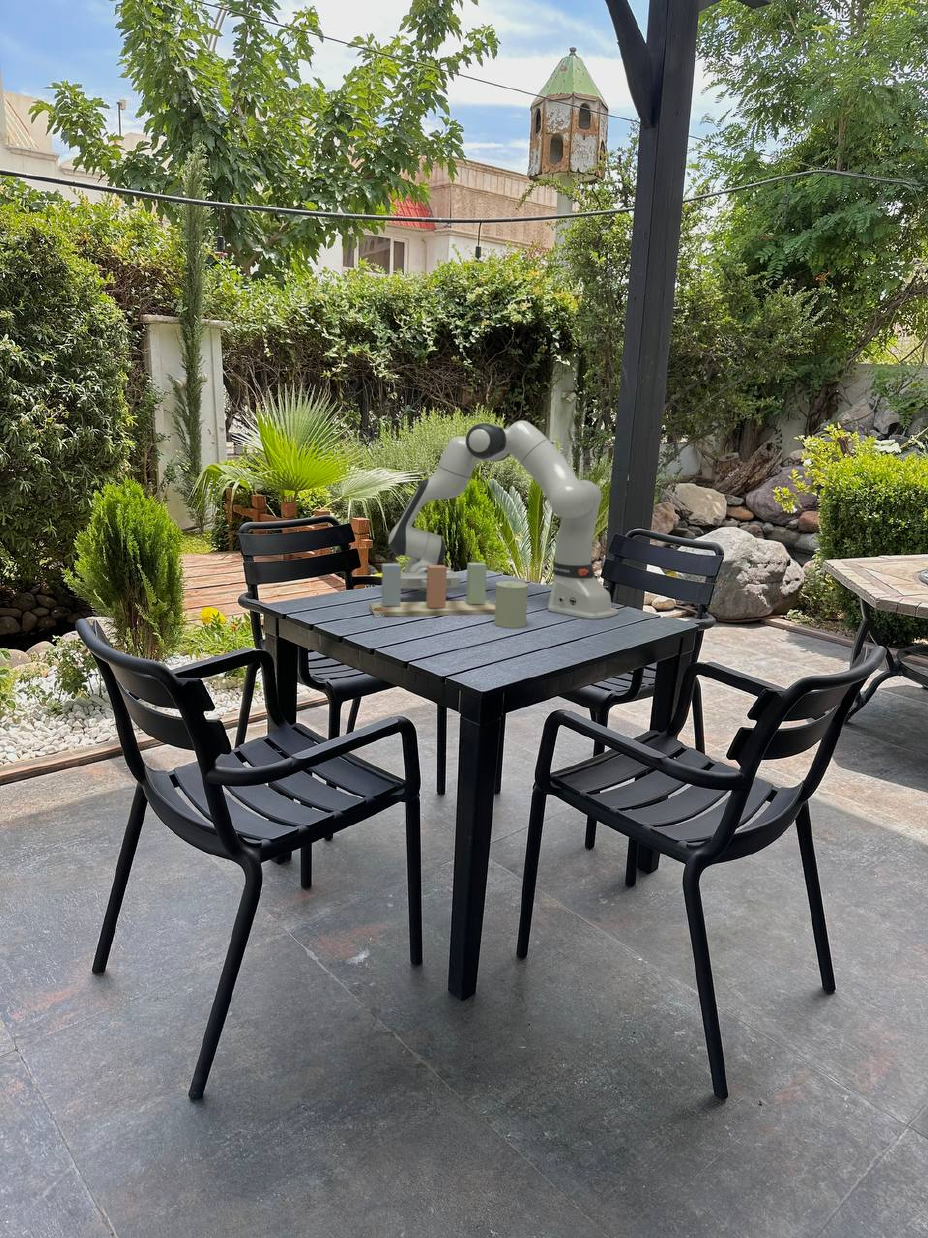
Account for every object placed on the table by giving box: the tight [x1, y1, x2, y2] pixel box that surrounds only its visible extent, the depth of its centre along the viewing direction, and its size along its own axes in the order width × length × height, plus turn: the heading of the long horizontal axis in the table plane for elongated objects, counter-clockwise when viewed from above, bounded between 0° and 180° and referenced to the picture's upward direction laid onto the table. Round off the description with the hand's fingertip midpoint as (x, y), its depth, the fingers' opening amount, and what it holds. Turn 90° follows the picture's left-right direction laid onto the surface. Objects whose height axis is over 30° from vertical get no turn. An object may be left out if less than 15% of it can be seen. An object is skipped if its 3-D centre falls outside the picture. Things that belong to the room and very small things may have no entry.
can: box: [493, 580, 529, 629], centre depth 224 cm, size 9×9×12 cm
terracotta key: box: [426, 564, 448, 608], centre depth 234 cm, size 5×4×12 cm
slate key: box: [381, 562, 402, 606], centre depth 235 cm, size 5×4×12 cm
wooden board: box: [369, 599, 496, 617], centre depth 237 cm, size 38×12×2 cm, turn 103°
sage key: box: [465, 562, 488, 604], centre depth 241 cm, size 5×4×12 cm
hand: (432, 586), depth 240 cm, fingers closed
